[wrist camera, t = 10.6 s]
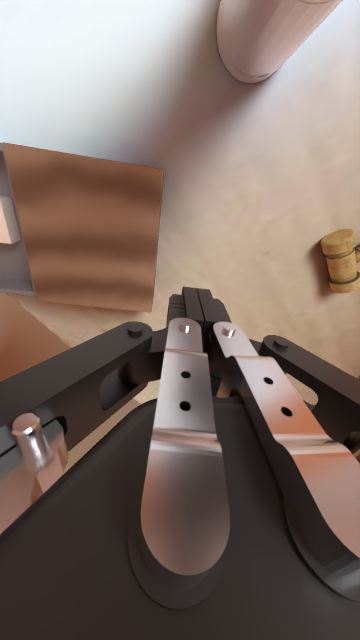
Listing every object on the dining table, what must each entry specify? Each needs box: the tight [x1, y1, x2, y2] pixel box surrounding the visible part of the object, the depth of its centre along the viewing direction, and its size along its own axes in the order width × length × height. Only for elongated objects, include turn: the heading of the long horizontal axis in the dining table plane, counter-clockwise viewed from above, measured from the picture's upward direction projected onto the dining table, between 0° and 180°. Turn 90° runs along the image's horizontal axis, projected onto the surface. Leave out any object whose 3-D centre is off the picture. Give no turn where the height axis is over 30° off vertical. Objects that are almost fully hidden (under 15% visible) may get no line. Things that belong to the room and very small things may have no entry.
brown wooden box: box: [3, 143, 164, 312], centre depth 33 cm, size 20×18×6 cm
